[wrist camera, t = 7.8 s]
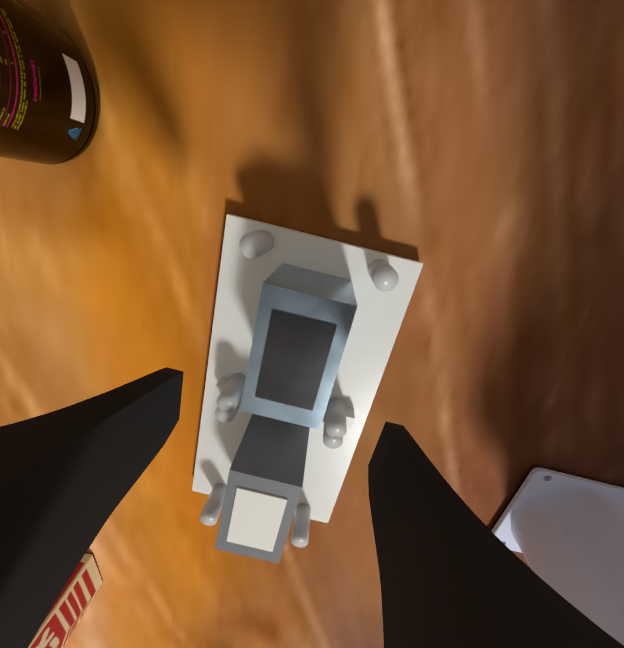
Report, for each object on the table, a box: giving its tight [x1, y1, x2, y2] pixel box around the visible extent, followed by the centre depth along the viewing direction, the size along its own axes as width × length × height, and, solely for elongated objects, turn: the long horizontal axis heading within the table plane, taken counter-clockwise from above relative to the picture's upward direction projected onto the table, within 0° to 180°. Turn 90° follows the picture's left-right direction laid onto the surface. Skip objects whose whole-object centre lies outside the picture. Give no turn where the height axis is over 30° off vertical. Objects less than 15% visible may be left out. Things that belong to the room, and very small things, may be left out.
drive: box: [240, 263, 357, 430], centre depth 16 cm, size 4×6×5 cm, turn 167°
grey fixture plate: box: [192, 214, 423, 564], centre depth 18 cm, size 11×21×6 cm, turn 167°
